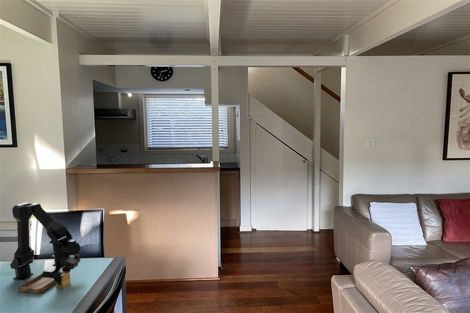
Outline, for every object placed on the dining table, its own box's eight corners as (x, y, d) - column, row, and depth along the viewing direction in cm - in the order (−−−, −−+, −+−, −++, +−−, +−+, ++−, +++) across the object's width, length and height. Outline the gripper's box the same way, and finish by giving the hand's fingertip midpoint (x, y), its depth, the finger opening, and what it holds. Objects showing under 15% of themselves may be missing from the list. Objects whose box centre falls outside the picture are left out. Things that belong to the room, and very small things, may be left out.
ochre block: (56, 287, 157) (55, 275, 157) (62, 282, 162) (61, 271, 161) (64, 287, 156) (63, 276, 156) (70, 283, 161) (69, 271, 160)
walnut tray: (18, 292, 154) (18, 287, 153) (47, 274, 171) (47, 269, 171) (40, 294, 151) (39, 289, 151) (67, 275, 169) (67, 271, 169)
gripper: (60, 261, 146) (64, 294, 148) (87, 245, 165) (90, 274, 166) (39, 260, 149) (43, 292, 150) (68, 244, 167) (70, 273, 169)
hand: (63, 282), depth 159 cm, fingers closed on ochre block, 4 cm apart
